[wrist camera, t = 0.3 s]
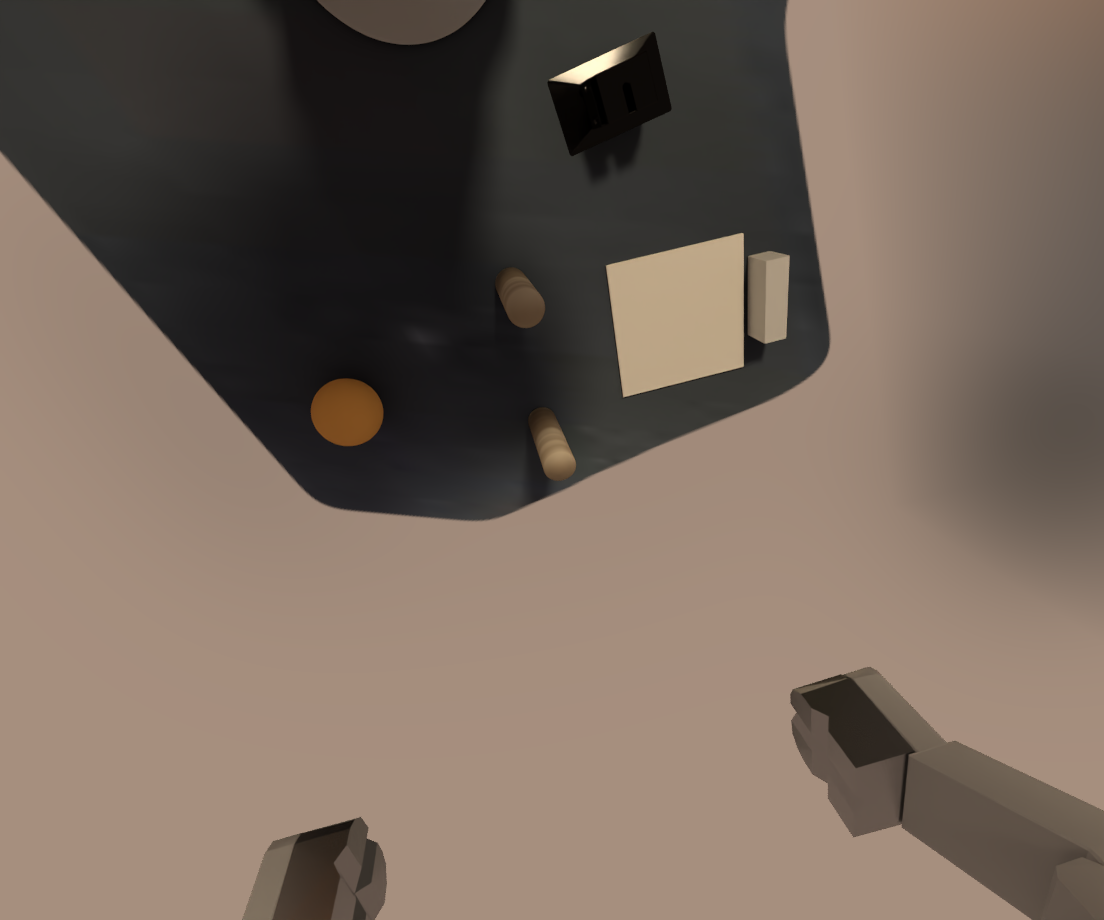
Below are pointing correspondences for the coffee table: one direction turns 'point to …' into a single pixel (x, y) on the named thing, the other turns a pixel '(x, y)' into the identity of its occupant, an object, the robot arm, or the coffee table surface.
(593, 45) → the coffee table surface
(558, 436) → the post
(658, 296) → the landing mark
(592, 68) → the dark slotted block
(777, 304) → the wall
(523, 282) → the post
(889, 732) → the robot arm
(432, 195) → the coffee table surface
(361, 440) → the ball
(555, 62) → the coffee table surface
